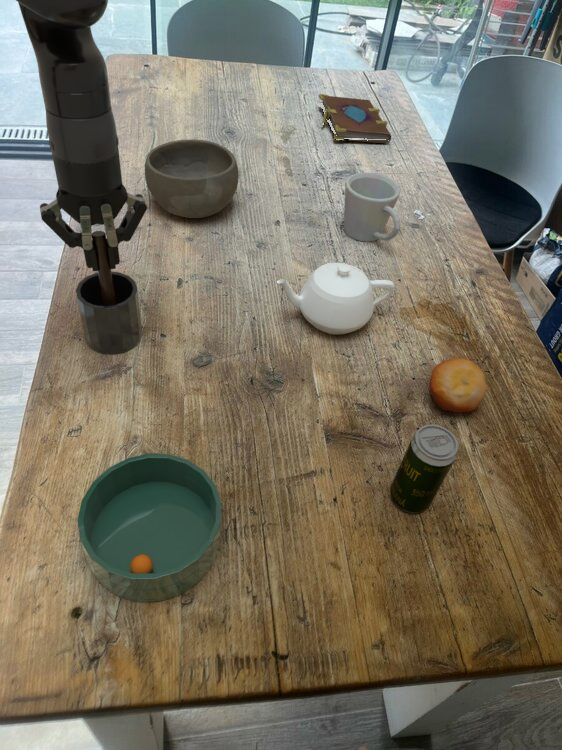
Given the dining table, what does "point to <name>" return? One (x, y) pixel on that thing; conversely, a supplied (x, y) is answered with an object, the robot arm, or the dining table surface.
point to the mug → (370, 206)
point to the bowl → (191, 177)
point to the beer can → (423, 468)
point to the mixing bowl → (151, 526)
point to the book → (354, 119)
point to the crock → (110, 314)
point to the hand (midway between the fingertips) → (103, 266)
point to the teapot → (338, 297)
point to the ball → (141, 564)
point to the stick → (104, 268)
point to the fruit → (457, 385)
